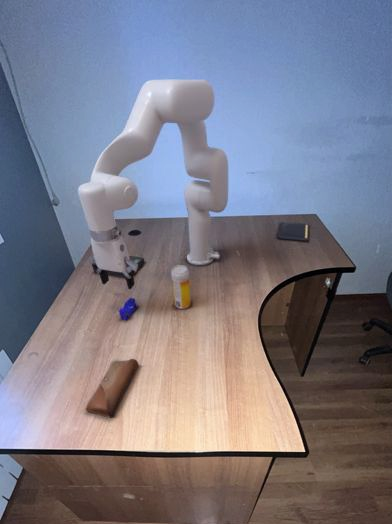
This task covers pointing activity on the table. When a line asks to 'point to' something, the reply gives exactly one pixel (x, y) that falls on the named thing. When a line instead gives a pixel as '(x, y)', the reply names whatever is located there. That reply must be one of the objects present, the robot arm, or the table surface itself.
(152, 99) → the robot arm
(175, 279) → the pill bottle
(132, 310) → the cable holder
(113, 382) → the sunglasses case
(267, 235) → the table surface
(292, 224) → the black flat rectangular slab
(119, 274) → the scale
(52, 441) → the table surface
